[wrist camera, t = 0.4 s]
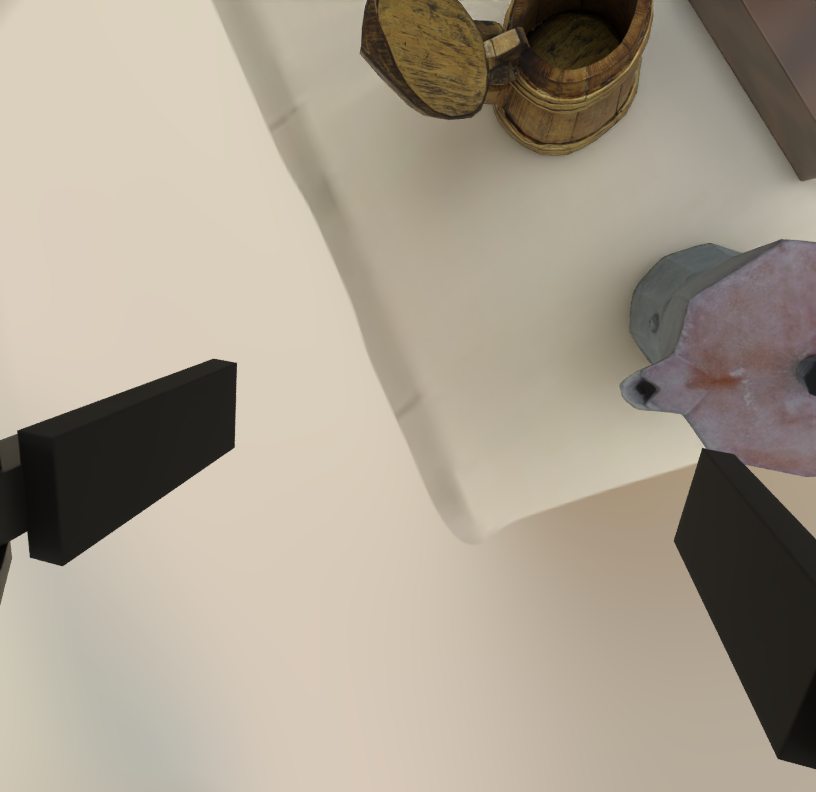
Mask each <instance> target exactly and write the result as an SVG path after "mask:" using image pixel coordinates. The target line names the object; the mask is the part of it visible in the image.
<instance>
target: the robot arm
mask: <svg viewBox="0 0 816 792" xmlns="http://www.w3.org/2000/svg"><path fill="white" fill-rule="evenodd" d="M236 377H237V363H234V362H229V361H224V360H218V359H212V360H209V361H206V362H203V363H201V364H198V365H195V366H192V367H190V368H187V369H185V370H182V371H179V372H176V373H173V374H171V375H168V376H165V377H162V378H160V379H157V380H154V381H152V382H149V383H146V384H143V385H141V386H138V387H135V388H132V389H130V390H127V391H124V392H121V393H119V394H116V395H113V396H111V397H108V398H105V399H102V400H100V401H97V402H94V403H91V404H89V405H86V406H83V407H81V408H78V409H75V410H72V411H70V412H67V413H64V414H62V415H59V416H56V417H53V418H51V419H48V420H45V421H43V422H40V423H37V424H34V425H32V426H29V427H26V428H23V429H21V430H18V431H17V433H18V434H16V435H13V436H10V437H8V438H5V439H2V440H0V603H1V599H2V596H3V592H4V587H5V584H6V579H7V575H8V572H9V568H10V564H11V560H12V554H11V545H10V541H11V540H13V539H15V538H16V537H18V536H20V535H21V534H23V533H25V532H27V533H28V542H29V552H30V558H34V559H37V560H41V561H45V562H48V563H53V564H56V565H60V566H64V565H65V564H67V563H68V562H70V561H71V560H73V559H74V558H75V557H77V556H78V555H80V554H81V553H83V552H84V551H85V550H87V549H88V548H90V547H91V546H93V545H94V544H96V543H97V542H98V541H100V540H101V539H103V538H104V537H106V536H107V535H109V534H110V533H111V532H113V531H114V530H116V529H117V528H119V527H120V526H122V525H123V524H125V523H126V522H127V521H129V520H130V519H132V518H133V517H135V516H136V515H138V514H139V513H141V512H142V511H143V510H145V509H146V508H148V507H149V506H151V505H152V504H154V503H155V502H156V501H158V500H159V499H161V498H162V497H164V496H165V495H167V494H168V493H169V492H171V491H172V490H174V489H175V488H177V487H178V486H180V485H181V484H182V483H184V482H185V481H187V480H188V479H190V478H191V477H193V476H194V475H195V474H197V473H198V472H200V471H201V470H203V469H204V468H205V467H207V466H208V465H210V464H211V463H213V462H214V461H216V460H217V459H219V458H220V457H221V456H223V455H224V454H226V453H227V452H229V451H230V450H232V449H233V448H234V447H235V411H236ZM674 542H675V544H676V547H677V549H678V551H679V553H680V555H681V557H682V559H683V561H684V563H685V565H686V568H687V570H688V572H689V574H690V576H691V578H692V580H693V582H694V584H695V586H696V588H697V591H698V593H699V595H700V597H701V599H702V601H703V603H704V605H705V607H706V609H707V611H708V613H709V616H710V618H711V620H712V622H713V624H714V626H715V628H716V630H717V632H718V635H719V636H720V639H721V641H722V643H723V645H724V647H725V649H726V651H727V653H728V655H729V657H730V660H731V662H732V664H733V666H734V668H735V670H736V672H737V674H738V676H739V679H740V680H741V683H742V685H743V687H744V689H745V691H746V693H747V695H748V697H749V699H750V701H751V703H752V706H753V708H754V710H755V712H756V714H757V716H758V718H759V720H760V722H761V725H762V727H763V729H764V731H765V733H766V735H767V737H768V739H769V741H770V743H771V746H772V748H773V750H774V752H775V754H776V756H777V758H778V759H780V760H784V761H787V762H791V763H795V764H798V765H802V766H806V767H810V768H813V769H816V539H815V538H814V537H813V536H812V535H811V534H810V533H809V532H808V531H807V530H806V528H805V527H803V525H802V524H801V523H800V522H799V521H798V520H797V519H796V518H795V517H794V516H793V515H792V514H791V513H790V512H789V511H788V510H787V509H786V508H785V507H784V506H783V504H782V503H781V502H780V501H779V500H778V499H777V498H776V497H775V496H774V495H773V494H772V493H771V492H770V491H769V490H768V489H767V488H766V487H765V486H764V485H763V484H762V482H761V481H760V480H759V479H758V478H757V477H756V476H755V475H754V474H753V473H752V472H751V471H750V470H749V469H748V468H747V467H746V466H745V465H744V464H743V463H742V462H741V461H740V460H739V458H738V457H737V456H736V455H735V454H732V453H726V452H721V451H715V450H710V449H704V448H702V451H701V454H700V457H699V461H698V464H697V467H696V470H695V474H694V477H693V480H692V483H691V487H690V490H689V493H688V496H687V500H686V503H685V506H684V510H683V512H682V516H681V519H680V522H679V525H678V529H677V532H676V535H675V538H674Z"/></svg>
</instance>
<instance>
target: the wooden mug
mask: <svg viewBox="0 0 816 792" xmlns="http://www.w3.org/2000/svg"><path fill="white" fill-rule="evenodd" d="M652 20H653V0H512V1H511V4H510V6H509V8H508V10H507V13H506V15H505V19H504V24H503V29H502V27H501V25H500V24H499V23H497V22H494V21H479V20H473V19H472V18H471V17H470V15H469V14H468V13H467V11H466V10H465V8H464V7H463V6H462V4H461V3H460V2H459V1H458V0H367V2H366V6H365V11H364V18H363V25H362V40H361V49H360V54H361V56H362V57H363V58H364V59H365V60H366V61H367V63H368V64H369V65H370V66H371V67H372V68H373V69H374V71H375V72H376V73H377V74H378V75H379V76H380V78H381V79H382V80H383V81H384V82H385V83H386V84H387V85H388V86H389V87H390V88H391V89H392V90H393V91H394V92H395V93H396V94H397V95H398V96H399V97H400V98H401V99H402V100H403V101H404V102H405V103H406V104H407V105H408V106H410V107H411V108H413V109H414V110H416V111H417V112H419V113H420V114H422V115H424V116H429V117H434V118H440V119H447V120H453V119H465V118H472V117H473V116H474V115H475V114H476V113H478V112H479V111H480V110H481V108H482V106H483V104H493V107H494V112H495V114H496V116H497V118H498V120H499V122H500V123H501V125H502V126H503V127H504V128H505V129H506V131H507V132H508V133H509V134H510V135H511V136H512V137H513V138H515V139H516V140H517V141H518V142H520V143H521V144H522V145H524V146H525V147H527V148H529V149H531V150H533V151H535V152H537V153H539V154H542V155H568V154H570V153H572V152H574V151H576V150H579V149H581V148H583V147H585V146H586V145H588V144H590V143H592V142H593V141H595V140H597V139H598V138H599V137H600V136H602V135H603V134H604V133H605V132H606V131H608V130H609V129H610V128H611V127H612V126H613V125H615V124H616V123H617V122H618V121H619V120H620V119H621V118H622V117H623V116H625V115H626V113H627V111H628V109H629V107H630V105H631V103H632V101H633V99H634V97H635V95H636V93H637V87H638V80H639V73H640V66H641V59H642V58H641V55H642V53H643V51H644V49H645V46H646V44H647V42H648V39H649V35H650V30H651V25H652Z"/></svg>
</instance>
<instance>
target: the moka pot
mask: <svg viewBox="0 0 816 792" xmlns="http://www.w3.org/2000/svg"><path fill="white" fill-rule="evenodd" d="M630 333H631V335H632V337H633V339H634V340H635V342H636V344H637V345H638V347H639V348H640V350H641V351H642V352H643V354H644V355H645V356H646V358H647V359H648V360H649V362H650V363H651V364H652V365H650V366H648V367H646V368H644V369H642V370H639V371H637V372H635V373H634V374H632V375H630V376H629V377H627V378H626V379H624V380H623V381H622V382H621V383H620V389H621V393H622V397H623V398H624V399H625V401H626V402H628V403H629V404H630V405H631V406H633V407H634V408H636V409H639V410H647V411H661V412H671V413H678V414H681V415H683V416H684V418H685V419H686V420H687V422H688V423H689V424H690V426H691V427H692V428H693V430H694V431H695V433H696V434H697V436H698V437H699V439H700V440H701V442H702V443H703V445H704V446H705V447H706V449H710V450H715V451H721V452H726V453H732V454H735V455H736V456H737V457H738V458H739V460H740V461H741V462H742V463H743V464H744V465H749V466H754V467H759V468H765V469H770V470H775V471H780V472H784V473H789V474H794V475H799V476H804V477H815V476H816V242H808V241H799V240H784V239H781V240H778V241H776V242H773V243H770V244H767V245H764V246H762V247H759V248H756V249H753V250H751V251H748V252H745V253H740V252H737V251H734V250H730V249H727V248H724V247H721V246H718V245H715V244H711V243H709V244H704V245H699V246H695V247H692V248H689V249H686V250H682V251H680V252H677V253H673V254H670V255H668V256H666V257H663V258H662V259H661V260H660V261H659V262H658V263H657V264H656V265H655V266H654V267H653V268H652V269H651V270H650V271H649V273H648V274H647V275H646V276H645V277H644V278H643V279H642V280H641V281H640V283H639V284H638V286H637V287H636V289H635V291H634V293H633V298H632V302H631V311H630Z"/></svg>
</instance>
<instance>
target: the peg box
mask: <svg viewBox="0 0 816 792" xmlns="http://www.w3.org/2000/svg"><path fill="white" fill-rule="evenodd" d="M689 1H690V2H691V4H692V6H693V7H694V9H695V10H696V12H697V14H698V15H699V17H700V18H701V20H702V22H703V23H704V25H705V27H706V28H707V30H708V31H709V33H710V35H711V36H712V38H713V39H714V41H715V43H716V44H717V46H718V47H719V49H720V51H721V52H722V54H723V55H724V57H725V59H726V60H727V62H728V63H729V65H730V67H731V68H732V70H733V71H734V73H735V75H736V76H737V78H738V80H739V81H740V83H741V84H742V86H743V88H744V89H745V91H746V92H747V94H748V96H749V97H750V99H751V100H752V102H753V104H754V105H755V107H756V108H757V110H758V112H759V113H760V115H761V116H762V118H763V120H764V121H765V123H766V124H767V126H768V128H769V129H770V131H771V133H772V134H773V136H774V137H775V139H776V141H777V142H778V144H779V145H780V147H781V149H782V150H783V152H784V153H785V155H786V157H787V158H788V160H789V161H790V163H791V165H792V166H793V168H794V169H795V171H796V173H797V174H798V176H799V177H800V179H801V180H802V181H804V180H808V179H812V178H816V0H689Z"/></svg>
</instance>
